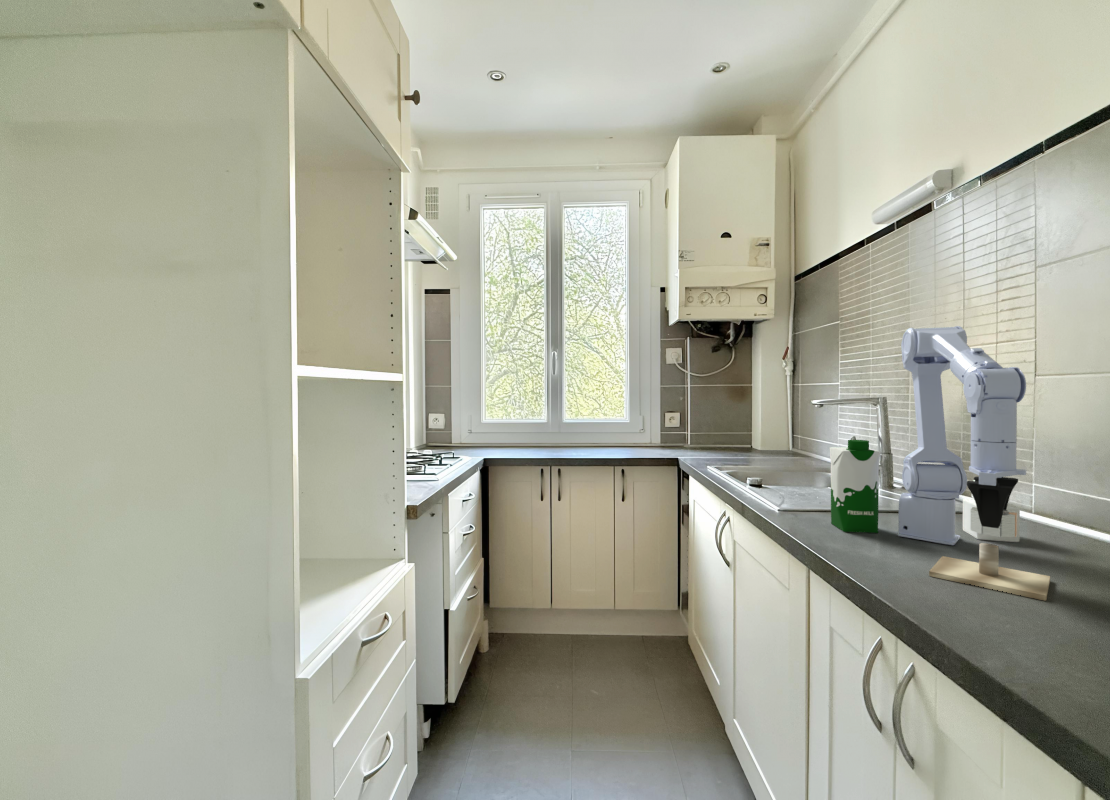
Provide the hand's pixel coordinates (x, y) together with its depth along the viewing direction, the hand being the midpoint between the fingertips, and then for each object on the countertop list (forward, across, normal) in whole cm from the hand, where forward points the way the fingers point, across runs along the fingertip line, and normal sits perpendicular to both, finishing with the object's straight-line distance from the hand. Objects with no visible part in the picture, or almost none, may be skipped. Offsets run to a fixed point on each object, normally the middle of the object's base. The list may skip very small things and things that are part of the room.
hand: (992, 523), depth 83 cm
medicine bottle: (+9, +30, +3) cm, 32 cm away
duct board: (+9, -1, 0) cm, 9 cm away
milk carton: (+9, +17, +25) cm, 32 cm away
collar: (+1, 0, 0) cm, 1 cm away
